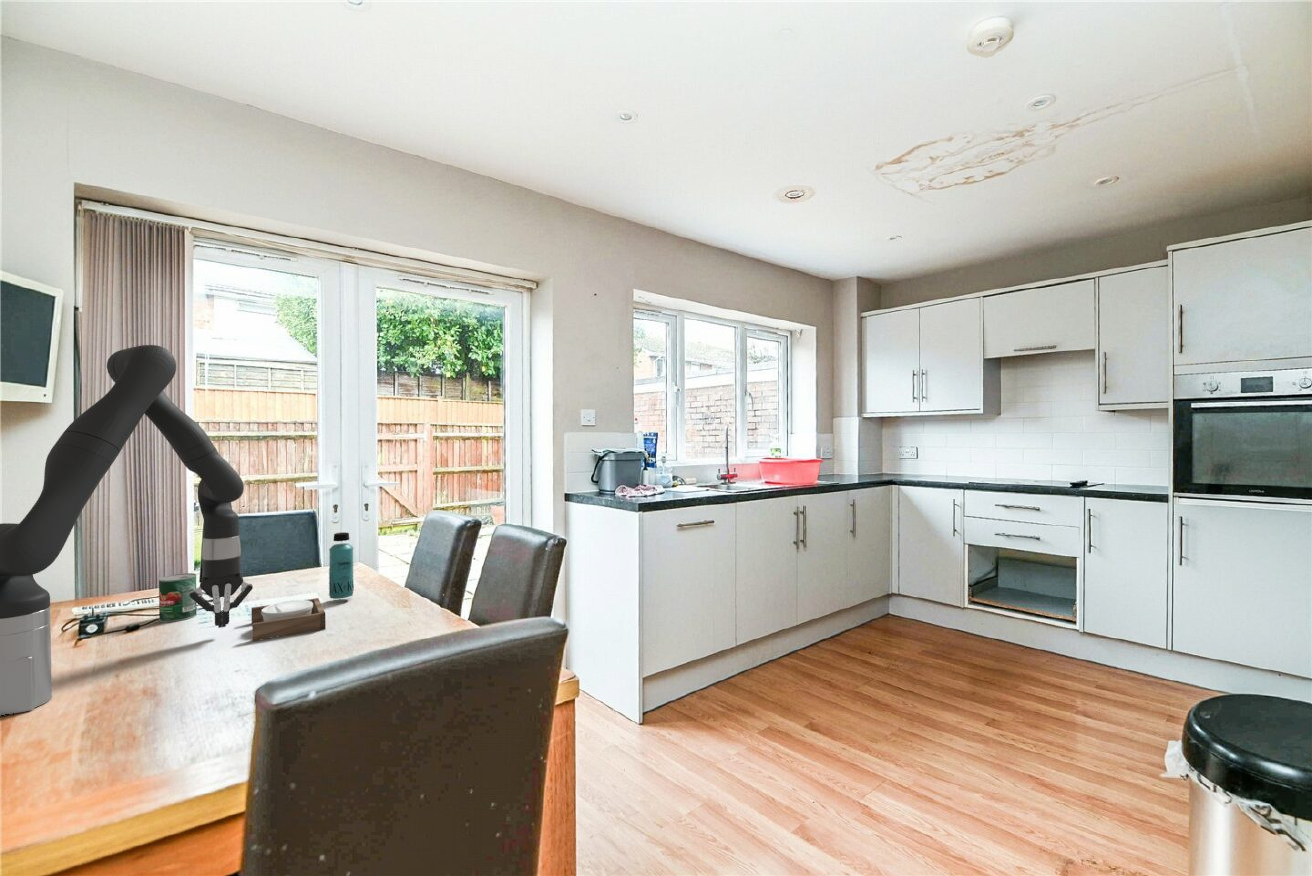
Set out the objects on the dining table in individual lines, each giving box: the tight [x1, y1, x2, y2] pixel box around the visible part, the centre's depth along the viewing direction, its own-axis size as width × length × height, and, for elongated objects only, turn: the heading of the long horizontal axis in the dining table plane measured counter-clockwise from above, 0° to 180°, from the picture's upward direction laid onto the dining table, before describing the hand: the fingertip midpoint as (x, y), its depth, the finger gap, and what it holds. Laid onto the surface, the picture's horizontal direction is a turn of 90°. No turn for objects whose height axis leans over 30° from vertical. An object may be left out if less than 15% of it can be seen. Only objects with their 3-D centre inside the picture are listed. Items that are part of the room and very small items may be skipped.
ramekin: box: [261, 599, 313, 621], centre depth 152 cm, size 11×11×5 cm
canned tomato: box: [158, 572, 198, 623], centre depth 160 cm, size 8×8×11 cm
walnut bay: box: [250, 597, 327, 642], centre depth 153 cm, size 16×15×4 cm
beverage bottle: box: [328, 532, 355, 600], centre depth 175 cm, size 6×7×20 cm
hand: (222, 626), depth 145 cm, fingers closed
